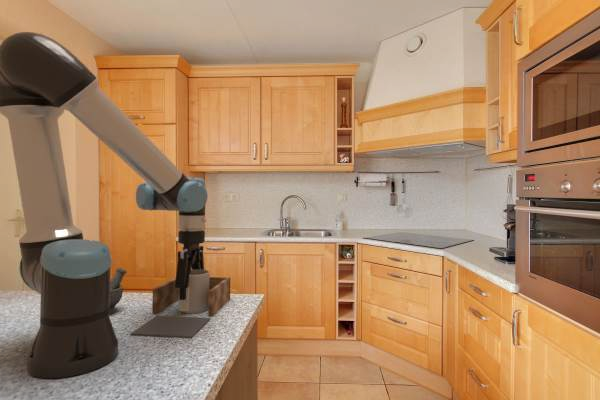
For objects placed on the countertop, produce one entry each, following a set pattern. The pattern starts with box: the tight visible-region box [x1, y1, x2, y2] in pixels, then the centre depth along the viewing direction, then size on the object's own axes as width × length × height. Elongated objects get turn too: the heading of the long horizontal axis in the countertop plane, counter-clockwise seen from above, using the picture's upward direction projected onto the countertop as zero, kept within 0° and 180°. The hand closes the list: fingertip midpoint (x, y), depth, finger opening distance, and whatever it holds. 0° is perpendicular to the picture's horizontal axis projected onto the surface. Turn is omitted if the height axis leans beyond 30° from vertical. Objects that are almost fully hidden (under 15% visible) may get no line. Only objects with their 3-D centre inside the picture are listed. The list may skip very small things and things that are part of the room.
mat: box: [129, 315, 211, 339], centre depth 89 cm, size 13×15×1 cm
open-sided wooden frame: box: [151, 276, 231, 317], centre depth 107 cm, size 18×17×7 cm
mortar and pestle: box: [109, 267, 127, 315], centre depth 100 cm, size 11×9×12 cm
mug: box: [179, 269, 211, 315], centre depth 104 cm, size 12×8×11 cm
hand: (190, 305), depth 104 cm, fingers closed on mug, 9 cm apart
